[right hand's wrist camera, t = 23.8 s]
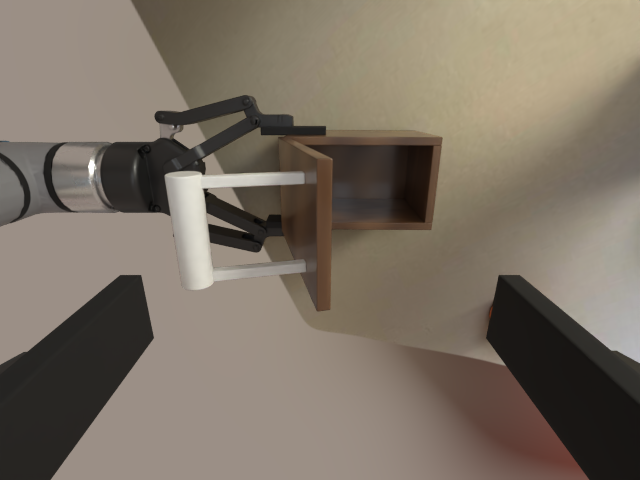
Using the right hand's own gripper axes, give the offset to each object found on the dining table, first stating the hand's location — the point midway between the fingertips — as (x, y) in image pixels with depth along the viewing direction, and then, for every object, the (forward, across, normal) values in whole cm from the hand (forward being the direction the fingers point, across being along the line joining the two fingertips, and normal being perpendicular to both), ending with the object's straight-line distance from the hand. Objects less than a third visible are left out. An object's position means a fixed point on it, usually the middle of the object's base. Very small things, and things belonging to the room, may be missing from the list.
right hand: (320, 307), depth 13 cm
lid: (+15, -1, 0) cm, 15 cm away
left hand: (+26, +1, 0) cm, 26 cm away
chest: (+33, +4, 0) cm, 33 cm away
